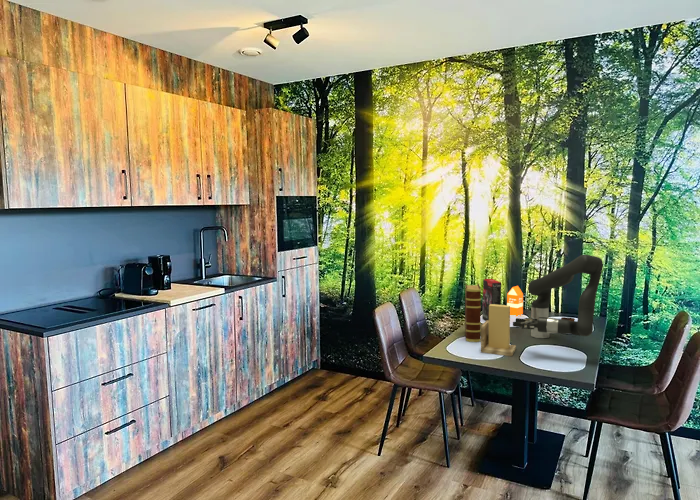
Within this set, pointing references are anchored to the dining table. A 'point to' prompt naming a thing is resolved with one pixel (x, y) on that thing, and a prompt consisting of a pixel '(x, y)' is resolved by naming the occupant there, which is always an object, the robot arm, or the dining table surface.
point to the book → (499, 326)
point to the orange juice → (515, 301)
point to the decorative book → (472, 312)
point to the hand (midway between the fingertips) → (514, 322)
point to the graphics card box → (490, 295)
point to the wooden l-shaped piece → (492, 350)
